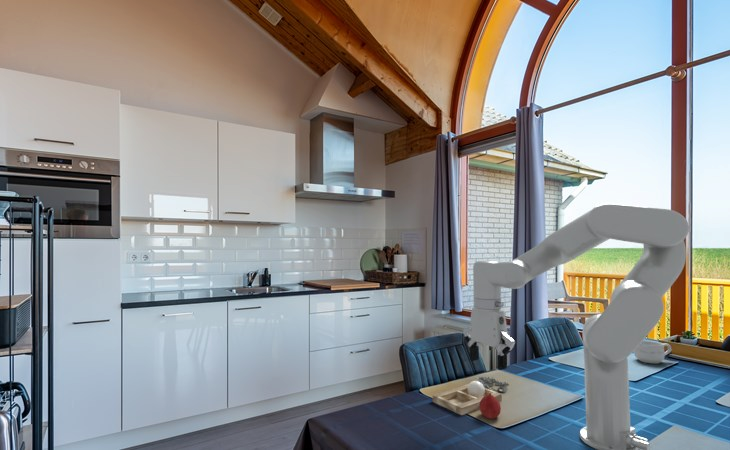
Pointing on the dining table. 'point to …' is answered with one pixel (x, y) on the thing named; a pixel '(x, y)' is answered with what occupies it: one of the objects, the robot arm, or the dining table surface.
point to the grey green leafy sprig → (491, 383)
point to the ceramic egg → (476, 389)
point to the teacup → (651, 351)
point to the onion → (490, 406)
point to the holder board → (461, 399)
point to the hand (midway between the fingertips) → (487, 364)
